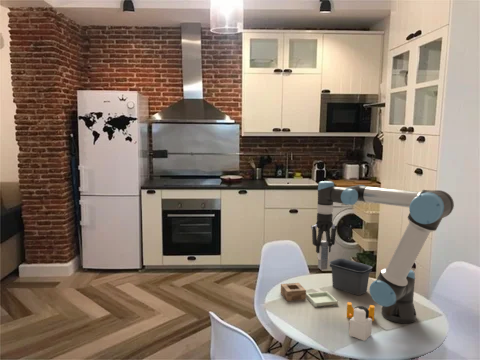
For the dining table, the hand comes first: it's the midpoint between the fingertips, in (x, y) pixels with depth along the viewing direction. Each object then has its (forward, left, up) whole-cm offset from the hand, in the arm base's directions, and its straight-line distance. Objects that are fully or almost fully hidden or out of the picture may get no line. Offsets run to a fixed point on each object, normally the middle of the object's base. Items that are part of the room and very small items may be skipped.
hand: (322, 258), depth 197 cm
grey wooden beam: (0, 0, -5) cm, 5 cm away
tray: (0, 0, -22) cm, 22 cm away
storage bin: (+11, -22, -23) cm, 34 cm away
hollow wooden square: (+9, +12, -22) cm, 27 cm away
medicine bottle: (-34, -2, -23) cm, 41 cm away
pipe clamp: (-19, -10, -23) cm, 32 cm away
